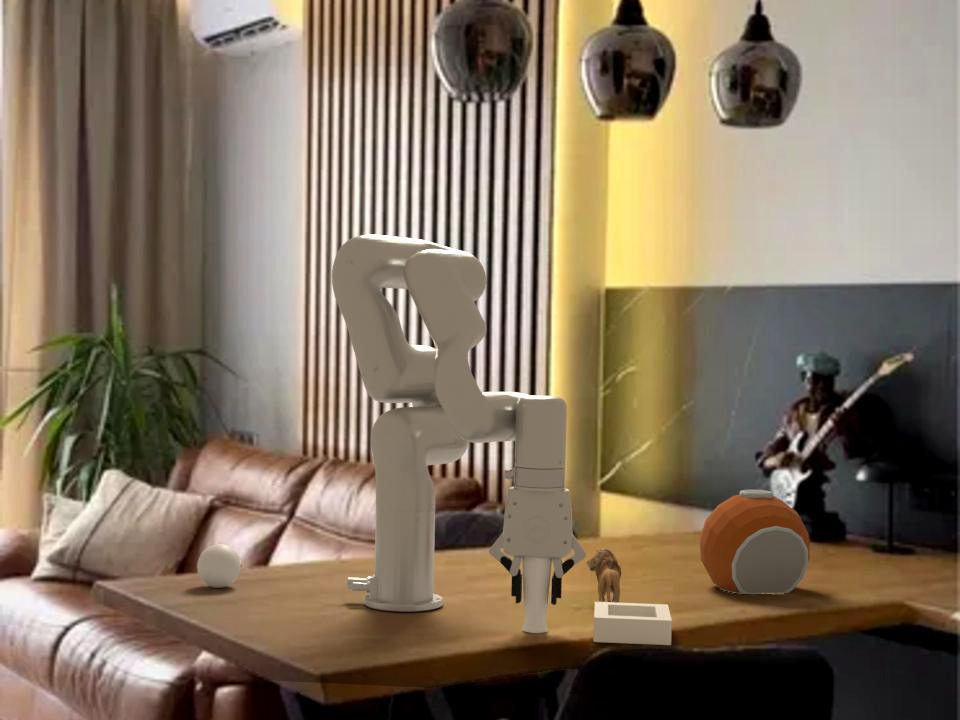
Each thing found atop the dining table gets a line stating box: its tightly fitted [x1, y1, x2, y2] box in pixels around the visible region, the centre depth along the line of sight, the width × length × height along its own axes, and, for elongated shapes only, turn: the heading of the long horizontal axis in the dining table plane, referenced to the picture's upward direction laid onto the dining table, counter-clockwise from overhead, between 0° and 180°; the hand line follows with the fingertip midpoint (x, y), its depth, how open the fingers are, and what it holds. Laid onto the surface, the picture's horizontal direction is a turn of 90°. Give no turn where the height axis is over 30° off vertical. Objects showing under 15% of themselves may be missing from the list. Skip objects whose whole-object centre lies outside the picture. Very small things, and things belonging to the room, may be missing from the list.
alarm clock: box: [699, 489, 811, 595], centre depth 244 cm, size 19×18×17 cm
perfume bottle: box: [521, 557, 553, 634], centre depth 206 cm, size 5×4×15 cm
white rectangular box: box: [593, 601, 673, 646], centre depth 204 cm, size 11×12×4 cm
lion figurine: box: [585, 547, 622, 603], centre depth 223 cm, size 15×5×9 cm, turn 6°
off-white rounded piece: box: [196, 543, 243, 589], centre depth 235 cm, size 10×7×7 cm
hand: (536, 601), depth 206 cm, fingers closed on perfume bottle, 4 cm apart
